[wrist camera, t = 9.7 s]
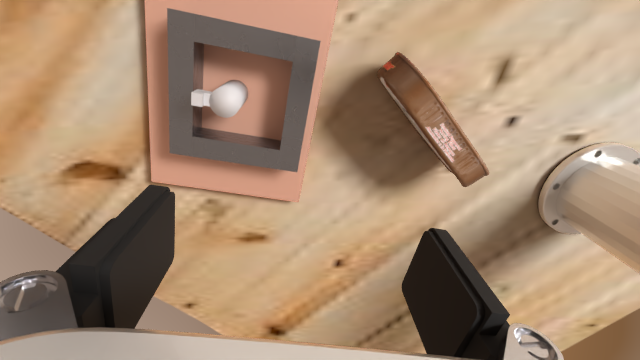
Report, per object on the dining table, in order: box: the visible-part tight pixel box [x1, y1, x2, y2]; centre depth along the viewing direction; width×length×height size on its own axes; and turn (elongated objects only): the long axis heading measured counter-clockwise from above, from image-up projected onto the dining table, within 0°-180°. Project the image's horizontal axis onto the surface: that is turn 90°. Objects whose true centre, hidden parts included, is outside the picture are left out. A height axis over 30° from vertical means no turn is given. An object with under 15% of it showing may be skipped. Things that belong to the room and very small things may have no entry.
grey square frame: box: [167, 8, 321, 172], centre depth 28 cm, size 12×12×3 cm
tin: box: [377, 52, 489, 187], centre depth 29 cm, size 15×3×8 cm, turn 41°
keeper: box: [145, 0, 338, 202], centre depth 27 cm, size 16×22×7 cm
